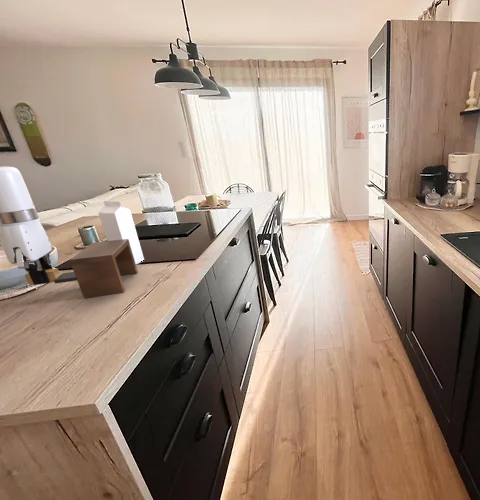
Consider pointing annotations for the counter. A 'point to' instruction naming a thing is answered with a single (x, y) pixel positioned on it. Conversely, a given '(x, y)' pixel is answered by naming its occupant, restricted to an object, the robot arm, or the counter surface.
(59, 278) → the fish slice
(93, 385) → the counter surface
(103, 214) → the milk
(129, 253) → the stand
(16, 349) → the counter surface
